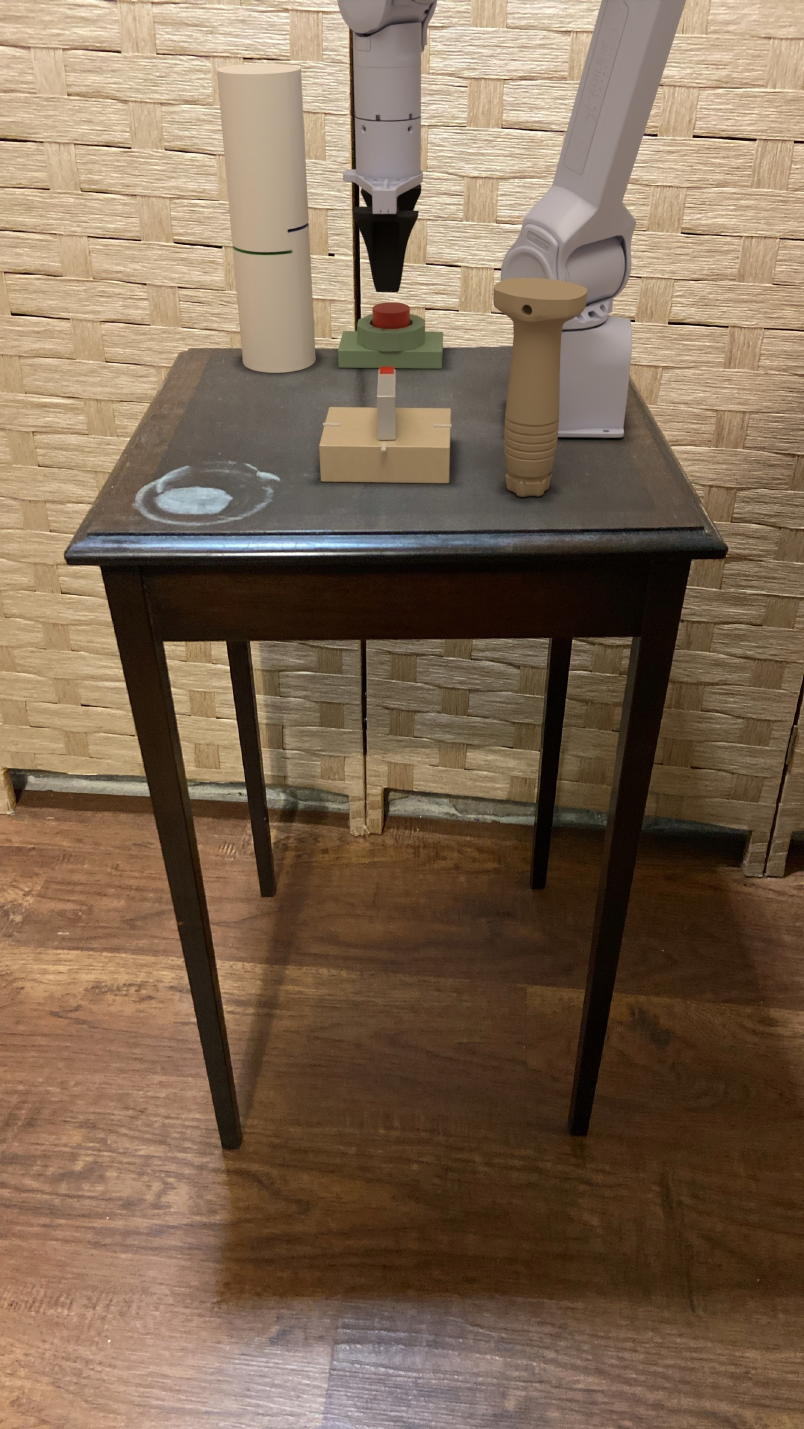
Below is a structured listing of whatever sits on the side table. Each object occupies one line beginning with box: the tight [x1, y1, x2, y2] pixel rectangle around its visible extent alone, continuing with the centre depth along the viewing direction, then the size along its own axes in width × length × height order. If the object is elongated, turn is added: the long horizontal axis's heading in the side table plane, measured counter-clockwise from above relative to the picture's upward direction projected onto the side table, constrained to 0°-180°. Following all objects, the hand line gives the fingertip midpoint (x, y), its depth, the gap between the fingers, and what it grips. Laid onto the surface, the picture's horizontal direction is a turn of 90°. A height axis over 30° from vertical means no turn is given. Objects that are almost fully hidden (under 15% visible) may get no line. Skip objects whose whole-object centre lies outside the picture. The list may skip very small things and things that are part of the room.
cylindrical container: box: [216, 63, 317, 374], centre depth 103 cm, size 7×7×25 cm
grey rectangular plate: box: [376, 367, 397, 440], centre depth 88 cm, size 6×1×4 cm, turn 0°
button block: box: [337, 313, 444, 370], centre depth 110 cm, size 10×6×4 cm, turn 87°
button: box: [371, 301, 411, 329], centre depth 109 cm, size 4×4×2 cm
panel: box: [318, 406, 453, 484], centre depth 90 cm, size 10×10×3 cm
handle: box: [492, 278, 587, 498], centre depth 82 cm, size 5×6×15 cm
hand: (389, 279), depth 105 cm, fingers open, 7 cm apart
